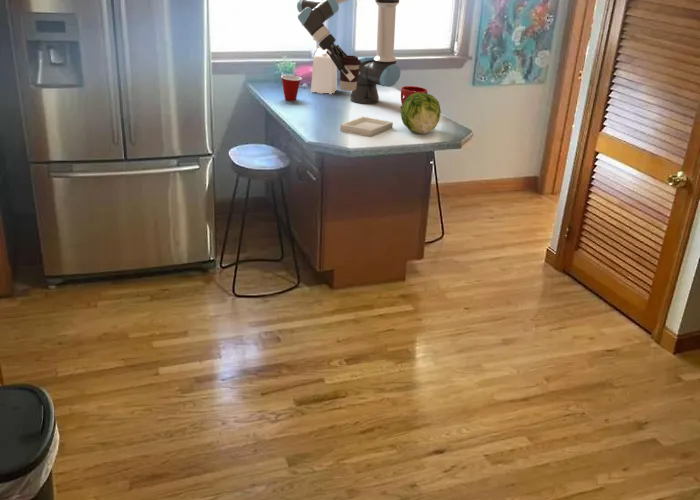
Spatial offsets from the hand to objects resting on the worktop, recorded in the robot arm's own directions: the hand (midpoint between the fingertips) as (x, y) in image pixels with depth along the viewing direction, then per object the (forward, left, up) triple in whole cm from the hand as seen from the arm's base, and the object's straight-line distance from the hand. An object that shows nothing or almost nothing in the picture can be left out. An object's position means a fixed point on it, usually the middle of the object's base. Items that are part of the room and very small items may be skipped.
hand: (355, 77), depth 335 cm
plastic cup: (-19, -49, -21) cm, 57 cm away
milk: (-49, -48, -21) cm, 72 cm away
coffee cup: (+1, -3, -6) cm, 7 cm away
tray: (+7, +12, -21) cm, 25 cm away
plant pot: (-38, +12, -21) cm, 46 cm away
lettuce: (-6, +33, -21) cm, 39 cm away
